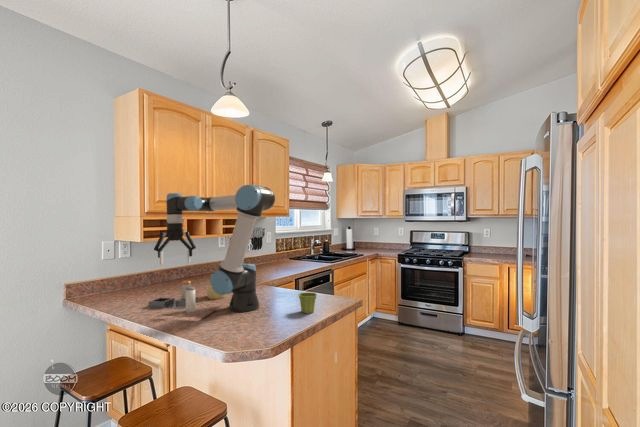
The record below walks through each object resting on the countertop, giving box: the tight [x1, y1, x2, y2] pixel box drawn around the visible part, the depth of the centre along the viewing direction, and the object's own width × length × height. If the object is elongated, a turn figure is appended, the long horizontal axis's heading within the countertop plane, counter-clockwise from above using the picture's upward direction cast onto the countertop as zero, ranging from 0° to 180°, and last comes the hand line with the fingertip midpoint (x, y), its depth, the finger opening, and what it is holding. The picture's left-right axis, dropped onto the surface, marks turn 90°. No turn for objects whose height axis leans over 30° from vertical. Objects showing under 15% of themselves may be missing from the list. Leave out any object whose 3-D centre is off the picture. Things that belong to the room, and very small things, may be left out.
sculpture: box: [206, 283, 228, 300], centre depth 183 cm, size 11×12×11 cm
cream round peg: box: [185, 286, 196, 313], centre depth 156 cm, size 4×4×13 cm
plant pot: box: [297, 291, 318, 314], centre depth 159 cm, size 9×9×9 cm
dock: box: [147, 296, 199, 310], centre depth 167 cm, size 20×14×4 cm
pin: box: [181, 280, 192, 300], centre depth 169 cm, size 4×4×12 cm
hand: (175, 263), depth 167 cm, fingers open, 13 cm apart
